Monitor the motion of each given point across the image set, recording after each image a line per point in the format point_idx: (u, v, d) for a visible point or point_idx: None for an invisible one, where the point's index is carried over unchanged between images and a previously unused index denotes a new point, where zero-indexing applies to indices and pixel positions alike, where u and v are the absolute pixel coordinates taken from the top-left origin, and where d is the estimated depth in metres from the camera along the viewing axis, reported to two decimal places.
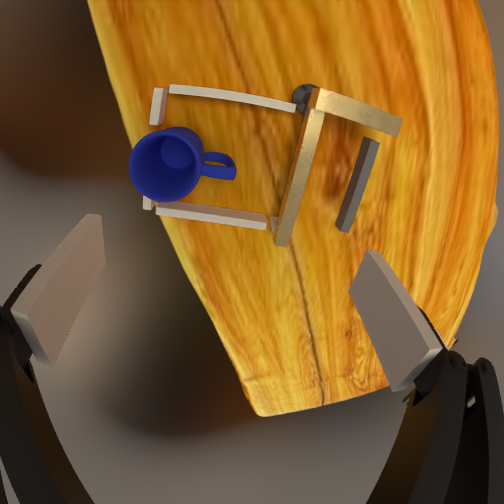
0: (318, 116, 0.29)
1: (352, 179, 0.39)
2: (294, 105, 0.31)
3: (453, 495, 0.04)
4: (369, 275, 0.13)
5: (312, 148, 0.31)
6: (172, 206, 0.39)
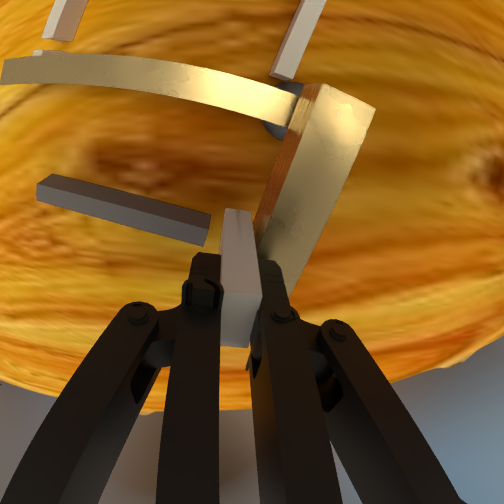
0: (275, 109, 0.12)
1: (127, 196, 0.20)
2: (290, 74, 0.14)
3: (370, 489, 0.05)
4: None
5: (194, 92, 0.12)
6: None
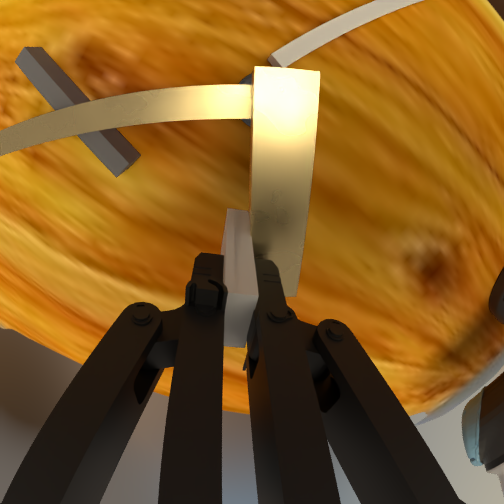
0: (235, 105, 0.12)
1: (83, 99, 0.16)
2: (284, 64, 0.14)
3: (369, 489, 0.05)
4: None
5: (156, 115, 0.12)
6: None
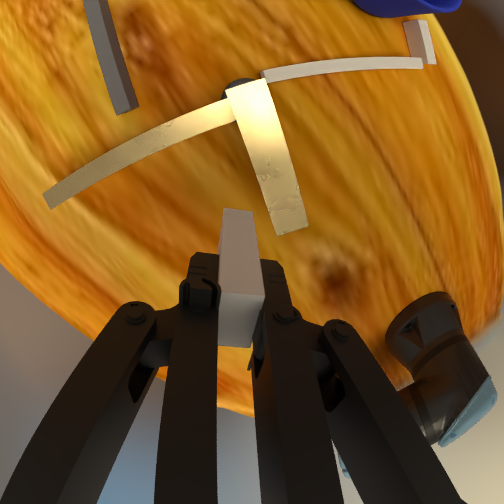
0: (224, 114, 0.18)
1: (117, 46, 0.18)
2: (268, 80, 0.20)
3: (372, 489, 0.05)
4: None
5: (174, 138, 0.19)
6: None
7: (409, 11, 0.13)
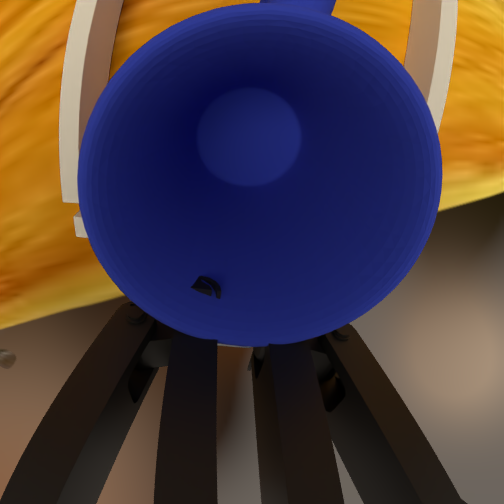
0: None
1: None
2: None
3: (372, 488, 0.05)
4: None
5: None
6: None
7: None
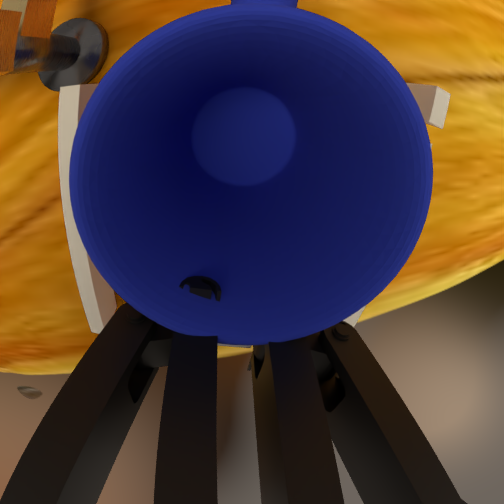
0: None
1: None
2: (62, 91, 0.09)
3: (372, 488, 0.05)
4: None
5: None
6: None
7: None
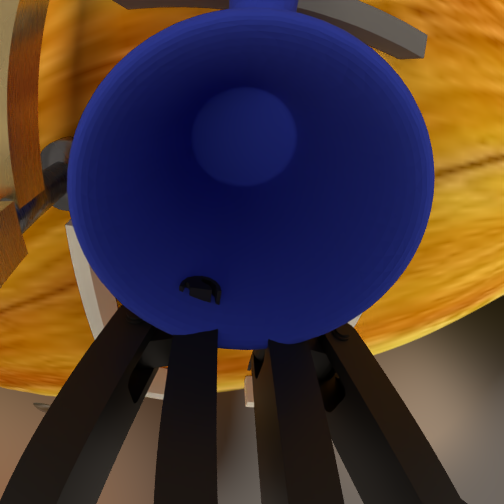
0: None
1: None
2: (68, 228, 0.13)
3: (372, 488, 0.05)
4: None
5: None
6: None
7: None
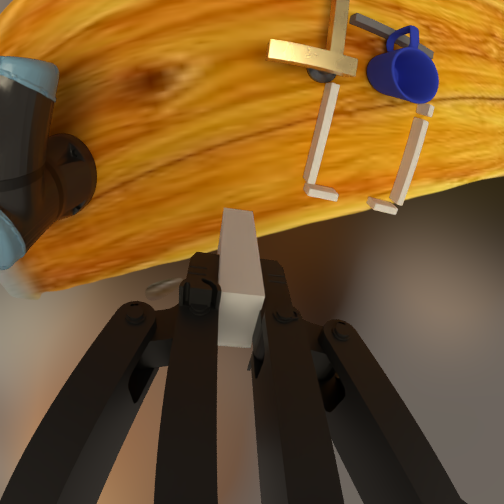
0: (335, 53, 0.28)
1: None
2: (333, 84, 0.33)
3: (372, 489, 0.05)
4: None
5: (336, 27, 0.26)
6: (398, 191, 0.43)
7: (382, 62, 0.28)
